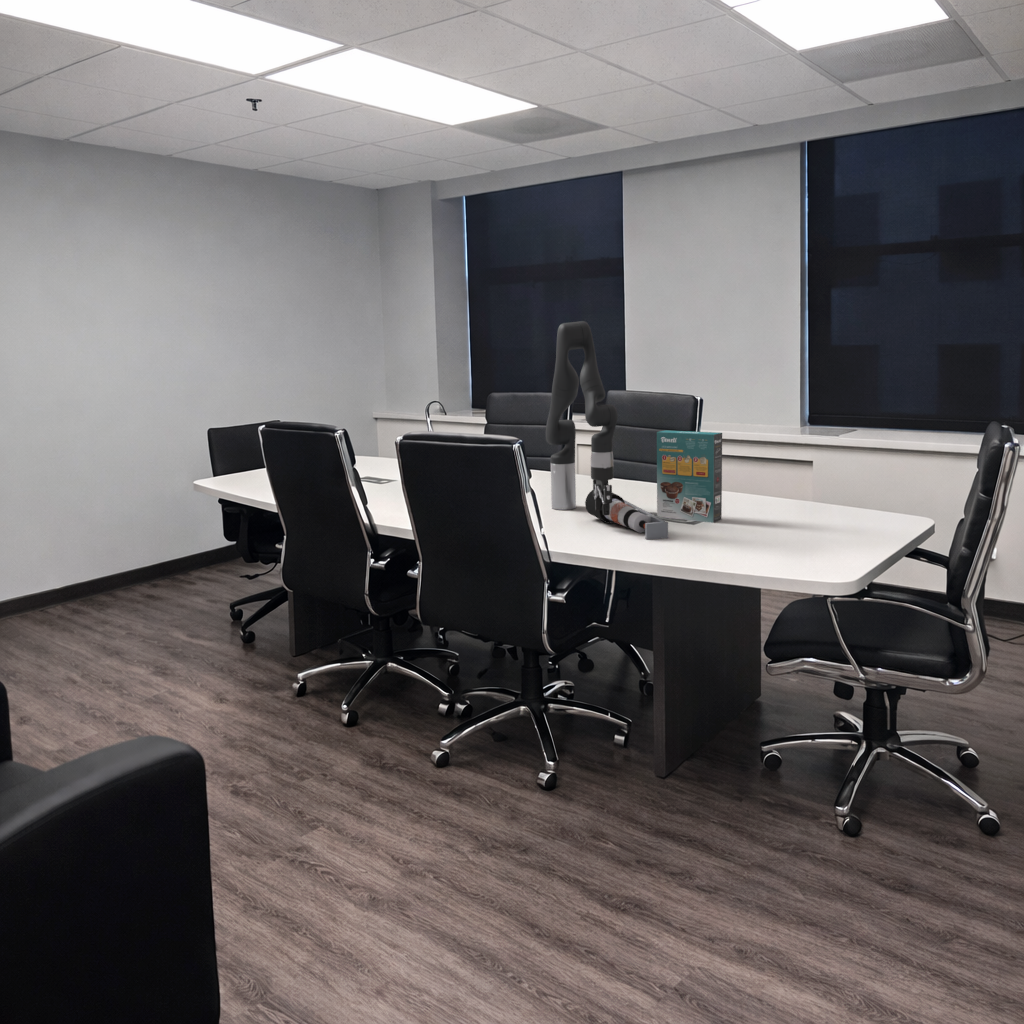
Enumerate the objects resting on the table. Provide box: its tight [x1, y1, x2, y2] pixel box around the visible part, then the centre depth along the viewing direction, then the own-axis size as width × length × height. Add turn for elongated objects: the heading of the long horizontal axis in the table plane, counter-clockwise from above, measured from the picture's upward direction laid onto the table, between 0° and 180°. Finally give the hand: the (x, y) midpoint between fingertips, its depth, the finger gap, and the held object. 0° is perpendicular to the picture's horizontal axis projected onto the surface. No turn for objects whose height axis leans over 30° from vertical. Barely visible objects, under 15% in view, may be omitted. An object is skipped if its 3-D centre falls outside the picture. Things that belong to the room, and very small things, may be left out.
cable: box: [584, 489, 650, 533], centre depth 310 cm, size 10×34×10 cm, turn 25°
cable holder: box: [623, 499, 669, 540], centre depth 315 cm, size 50×7×5 cm, turn 11°
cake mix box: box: [656, 430, 723, 523], centre depth 319 cm, size 22×6×30 cm, turn 51°
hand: (602, 512), depth 310 cm, fingers open, 8 cm apart
